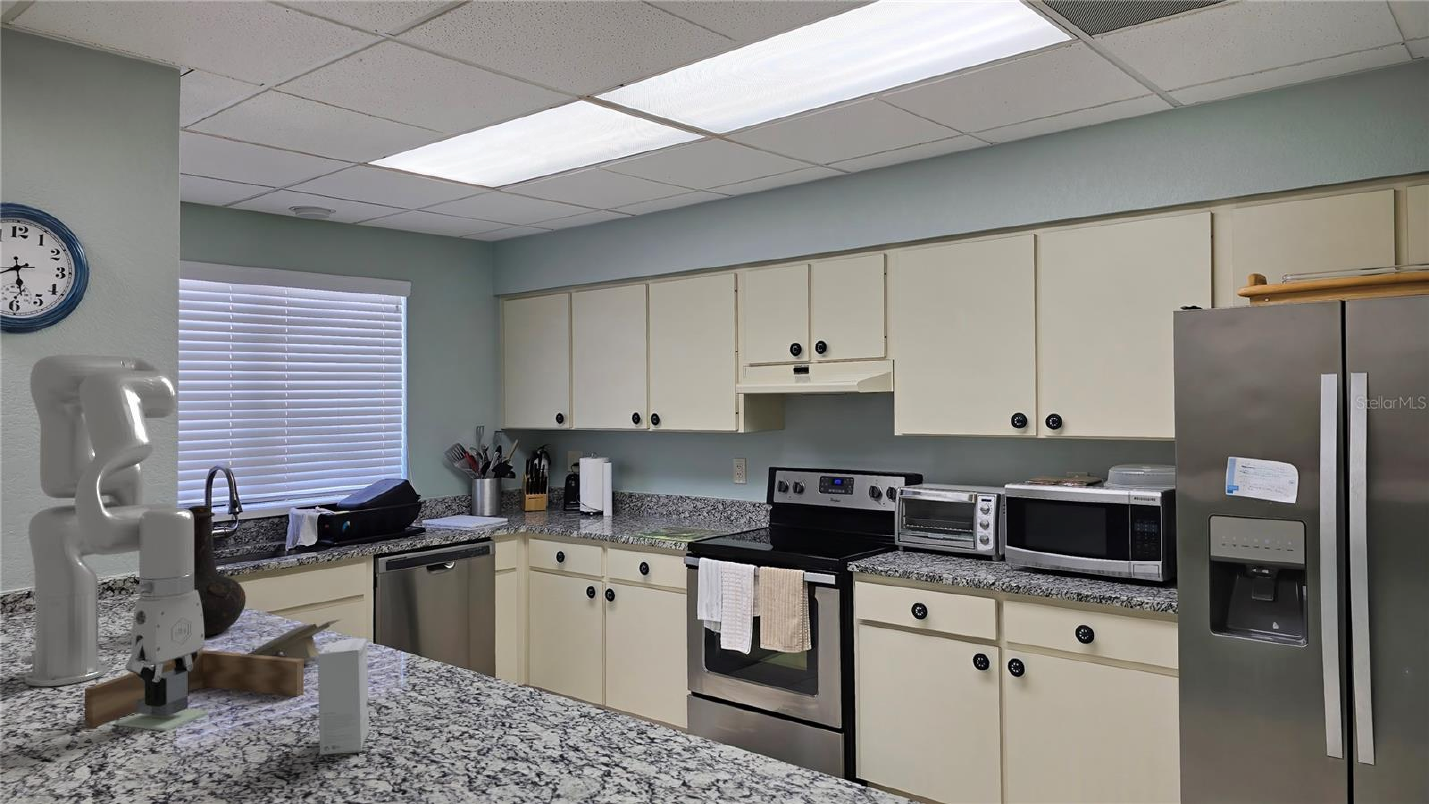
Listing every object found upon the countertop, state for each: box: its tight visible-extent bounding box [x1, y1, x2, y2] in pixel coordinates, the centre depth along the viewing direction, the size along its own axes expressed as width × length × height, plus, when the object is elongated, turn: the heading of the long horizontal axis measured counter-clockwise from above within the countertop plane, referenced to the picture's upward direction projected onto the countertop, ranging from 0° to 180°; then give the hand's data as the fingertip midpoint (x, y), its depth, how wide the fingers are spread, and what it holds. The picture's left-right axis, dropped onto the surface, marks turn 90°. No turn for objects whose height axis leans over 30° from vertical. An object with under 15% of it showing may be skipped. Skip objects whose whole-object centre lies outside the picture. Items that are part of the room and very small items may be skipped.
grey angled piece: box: [247, 619, 342, 665], centre depth 175 cm, size 16×9×15 cm
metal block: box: [136, 670, 189, 716], centre depth 145 cm, size 4×6×6 cm, turn 74°
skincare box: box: [317, 637, 370, 756], centre depth 135 cm, size 8×6×15 cm
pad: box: [115, 708, 209, 732], centre depth 145 cm, size 10×8×1 cm
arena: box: [84, 649, 305, 729], centre depth 150 cm, size 22×23×6 cm
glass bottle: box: [188, 504, 246, 637], centre depth 199 cm, size 18×18×28 cm
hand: (167, 699), depth 145 cm, fingers closed on metal block, 4 cm apart
